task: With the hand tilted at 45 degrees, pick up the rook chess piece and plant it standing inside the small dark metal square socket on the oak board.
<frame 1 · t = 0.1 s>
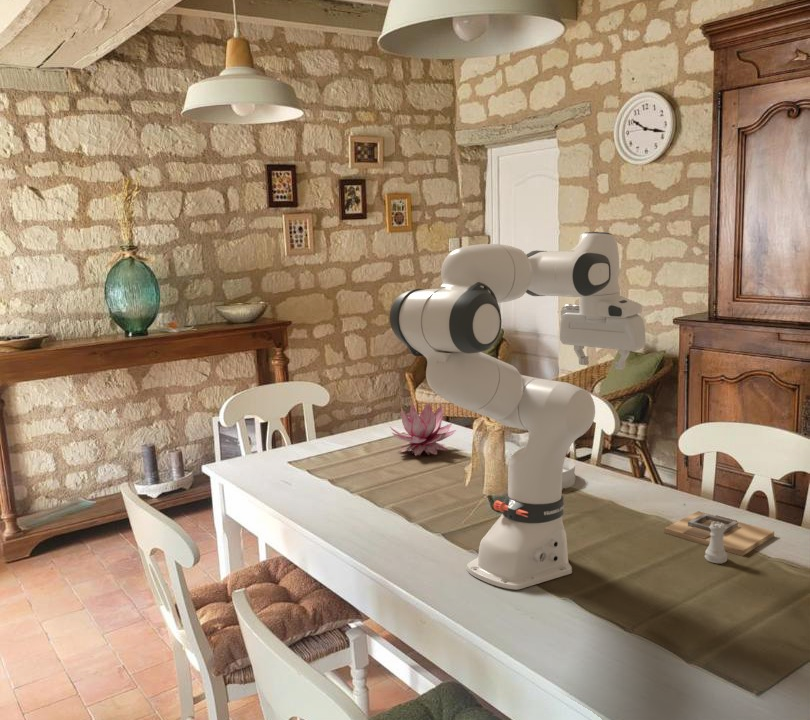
hand: (601, 366, 166), 39 cm above the table, tool pointing down, fingers open, 8 cm apart
dish: (535, 480, 212), on the table
oak board: (718, 534, 170), on the table
decorative flower: (422, 453, 242), on the table
rook chess piece: (715, 560, 156), on the table
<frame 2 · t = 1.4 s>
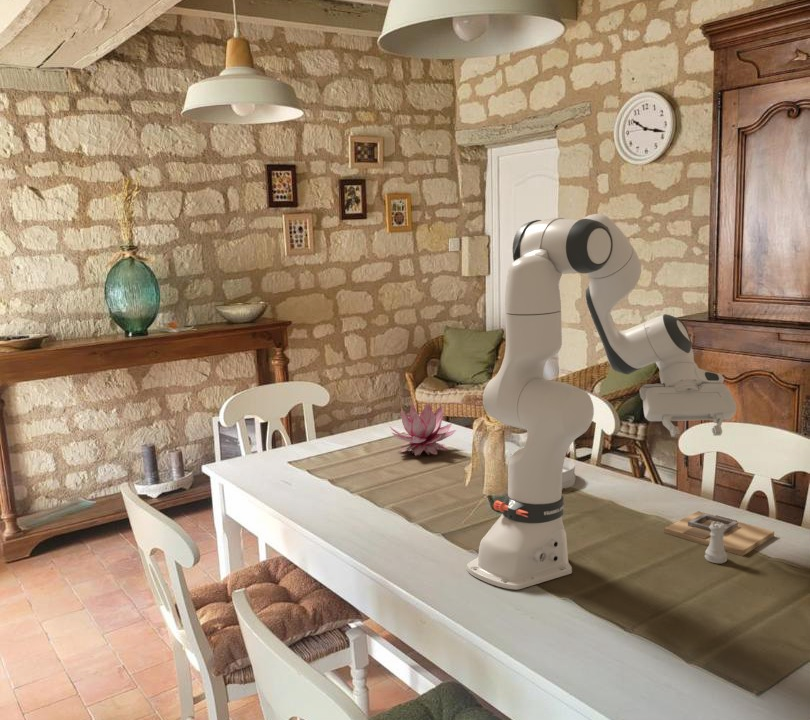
hand: (697, 434, 165), 24 cm above the table, tool tilted 45°, fingers open, 8 cm apart
nothing on the table moved.
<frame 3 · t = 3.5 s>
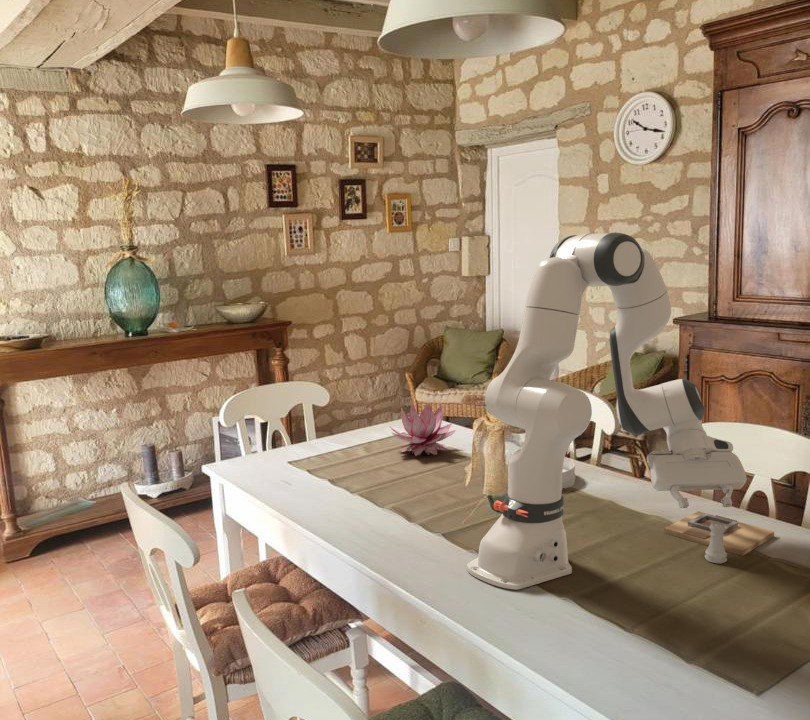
hand: (706, 506, 161), 10 cm above the table, tool tilted 45°, fingers open, 8 cm apart
nothing on the table moved.
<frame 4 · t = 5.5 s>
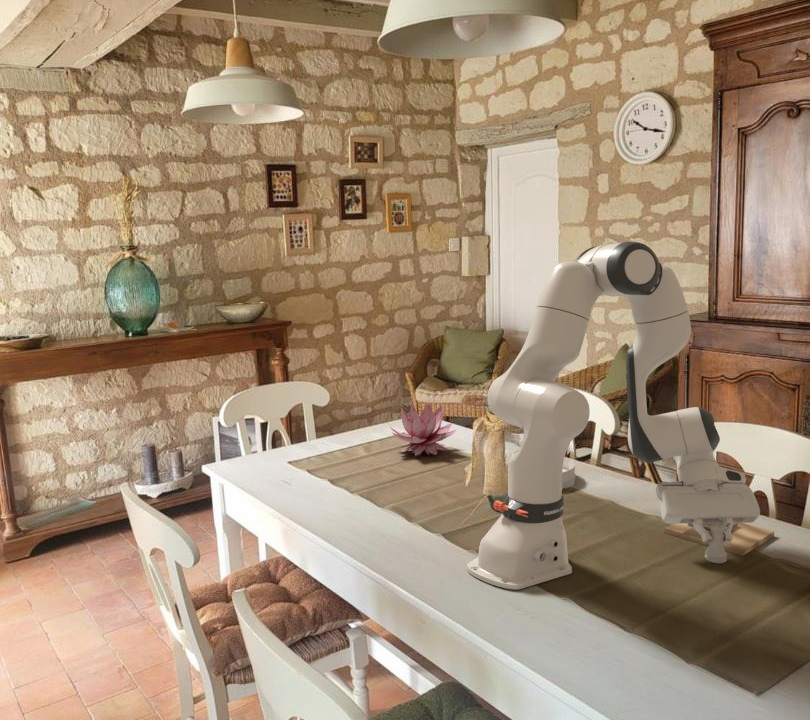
hand: (718, 541, 155), 4 cm above the table, tool tilted 45°, fingers closed on rook chess piece, 3 cm apart
rook chess piece: (715, 560, 156), on the table, touching gripper
everything else where it was.
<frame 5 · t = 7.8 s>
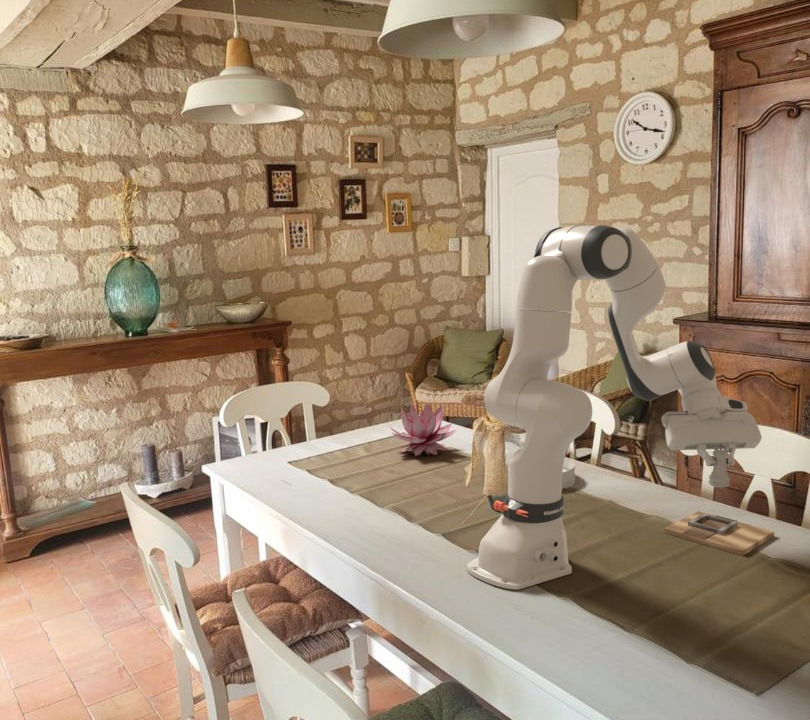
hand: (721, 464, 162), 18 cm above the table, tool tilted 45°, fingers closed on rook chess piece, 3 cm apart
rook chess piece: (719, 485, 163), point 13 cm above the table, touching gripper
everything else where it was.
when the fingers open (8 cm above the table, at t = 10.4 s): rook chess piece drops 2 cm, resting on oak board.
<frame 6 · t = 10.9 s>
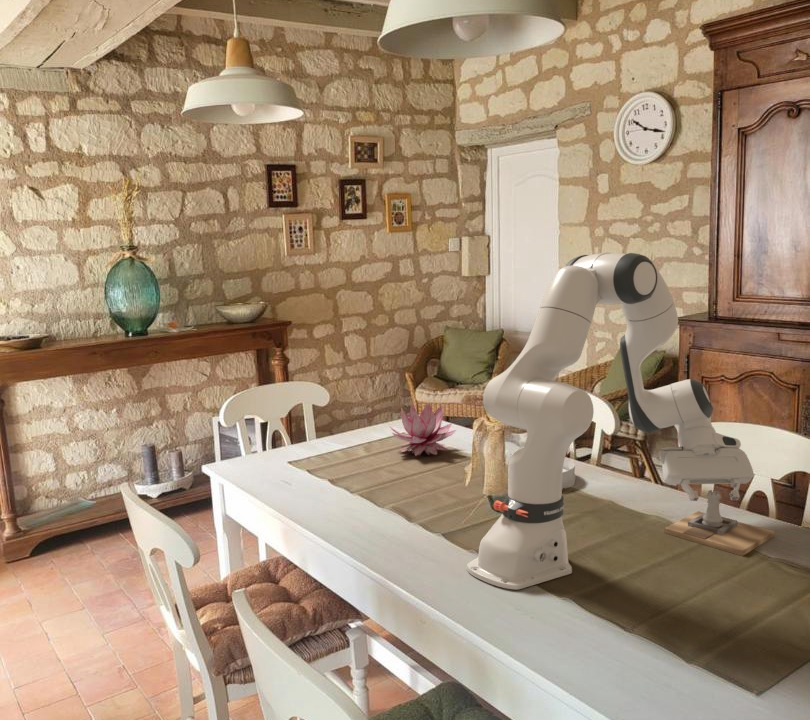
hand: (715, 499, 170), 8 cm above the table, tool tilted 45°, fingers open, 8 cm apart
rook chess piece: (712, 526, 172), point 1 cm above the table, touching oak board
everything else where it was.
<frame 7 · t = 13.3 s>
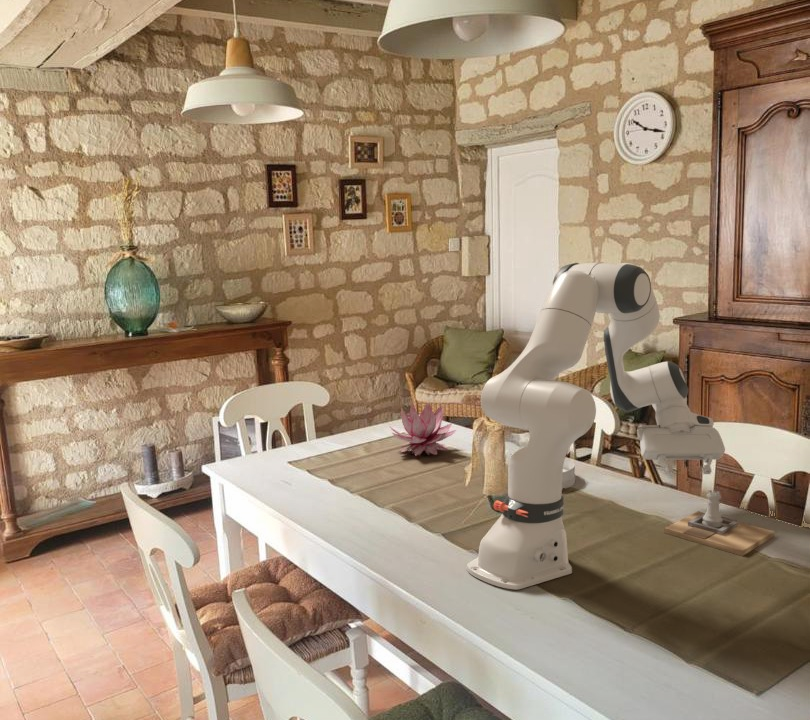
hand: (688, 473, 182), 10 cm above the table, tool tilted 45°, fingers open, 8 cm apart
nothing on the table moved.
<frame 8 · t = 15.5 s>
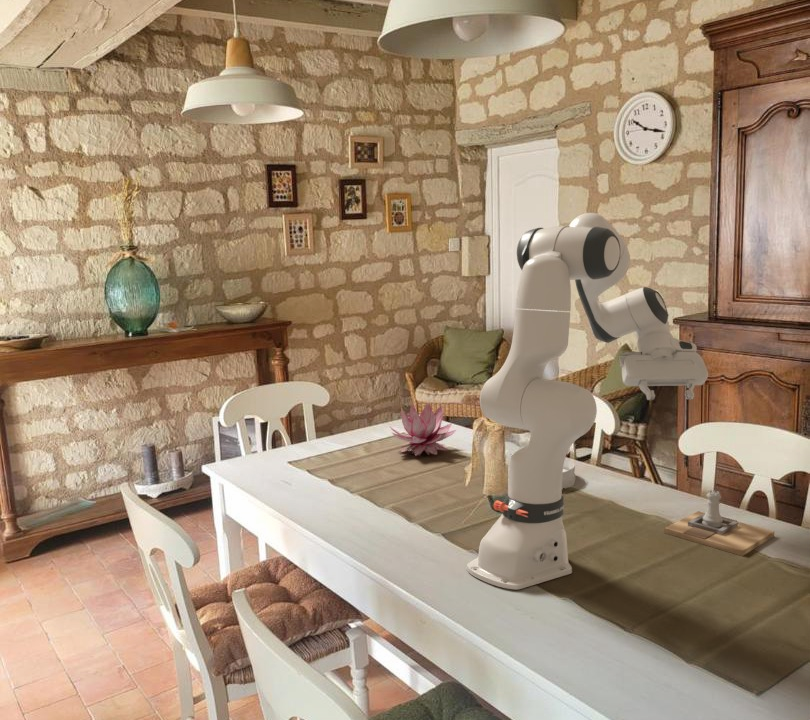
hand: (671, 398, 178), 29 cm above the table, tool tilted 45°, fingers open, 8 cm apart
nothing on the table moved.
at the end: rook chess piece 0.1 cm from the target spot on the oak board, point 1.2 cm above the oak board's base; rook chess piece tilted 0°; the gripper is holding nothing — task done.
